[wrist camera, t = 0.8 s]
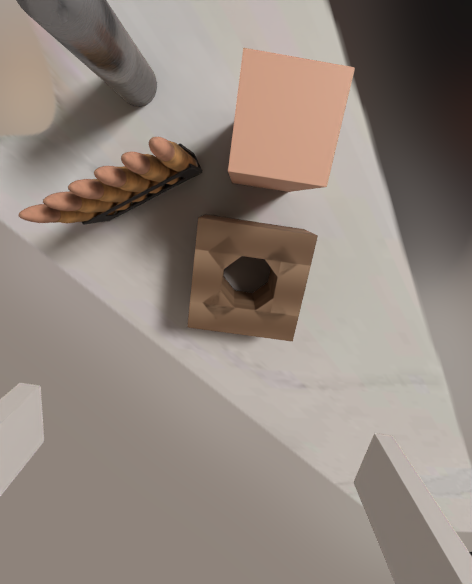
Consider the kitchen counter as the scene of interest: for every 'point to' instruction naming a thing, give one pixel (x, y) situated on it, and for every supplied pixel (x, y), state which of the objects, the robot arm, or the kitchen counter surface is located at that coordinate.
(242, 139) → the square peg
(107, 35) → the round peg
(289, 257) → the bore block
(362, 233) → the kitchen counter surface
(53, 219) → the ammunition clip
